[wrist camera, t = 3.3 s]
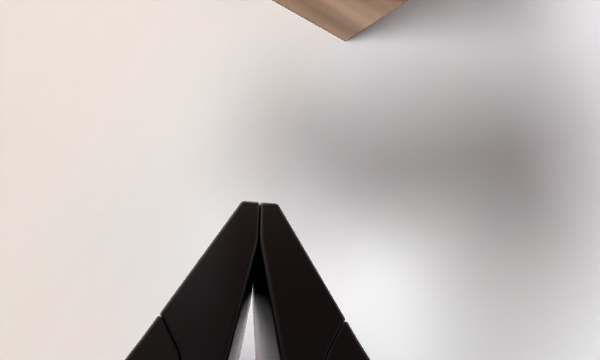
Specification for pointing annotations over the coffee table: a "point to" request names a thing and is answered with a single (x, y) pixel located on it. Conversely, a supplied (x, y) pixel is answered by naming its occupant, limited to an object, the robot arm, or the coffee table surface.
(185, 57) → the coffee table surface
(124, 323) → the coffee table surface
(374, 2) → the walnut card box
